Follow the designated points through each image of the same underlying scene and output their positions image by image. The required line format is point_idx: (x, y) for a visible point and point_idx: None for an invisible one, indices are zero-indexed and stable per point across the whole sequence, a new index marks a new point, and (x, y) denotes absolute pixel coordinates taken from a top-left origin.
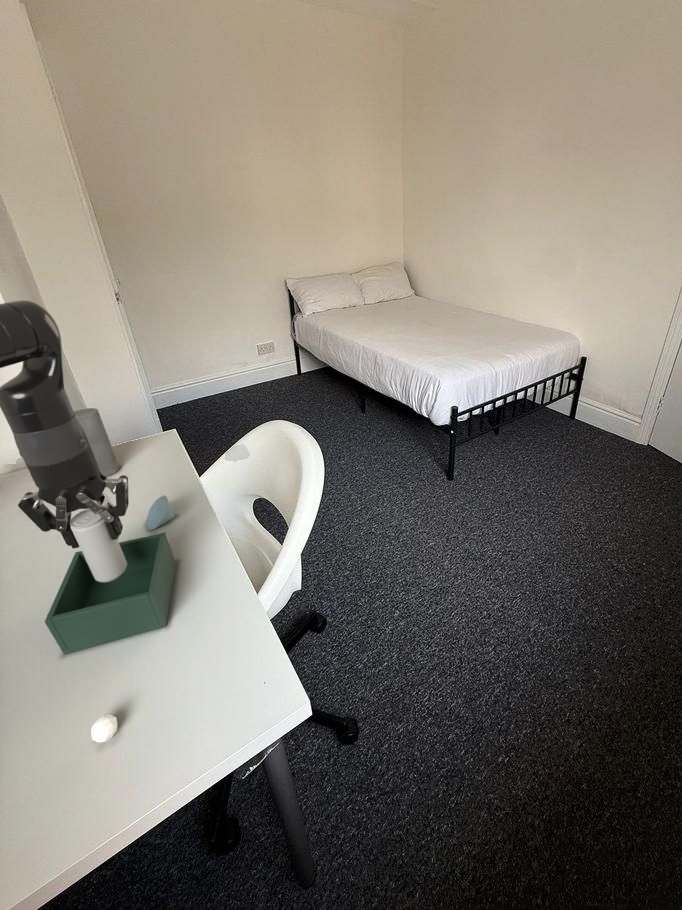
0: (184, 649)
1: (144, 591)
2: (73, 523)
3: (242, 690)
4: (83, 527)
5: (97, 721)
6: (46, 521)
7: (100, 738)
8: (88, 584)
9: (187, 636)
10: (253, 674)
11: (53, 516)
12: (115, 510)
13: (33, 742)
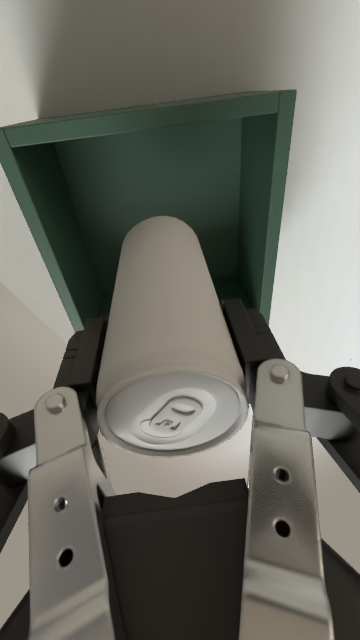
0: (270, 314)
1: (195, 199)
2: (123, 436)
3: (327, 363)
4: (180, 451)
5: None
6: (20, 503)
7: None
8: (55, 161)
9: (274, 298)
10: (342, 351)
11: (3, 453)
12: (318, 437)
13: None
